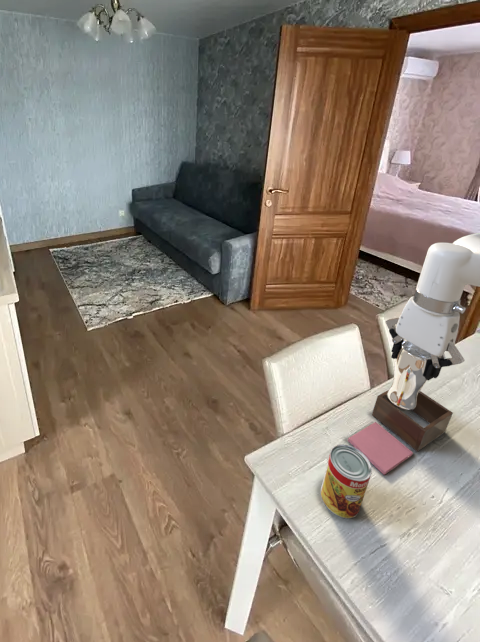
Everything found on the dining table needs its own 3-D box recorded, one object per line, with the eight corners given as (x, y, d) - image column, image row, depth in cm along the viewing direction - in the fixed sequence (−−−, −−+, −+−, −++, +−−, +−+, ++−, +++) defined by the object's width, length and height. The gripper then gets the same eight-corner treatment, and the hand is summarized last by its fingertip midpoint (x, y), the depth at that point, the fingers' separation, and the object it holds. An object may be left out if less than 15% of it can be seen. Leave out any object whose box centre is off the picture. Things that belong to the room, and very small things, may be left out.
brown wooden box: (398, 399, 102) (405, 380, 99) (444, 432, 91) (453, 412, 89) (371, 414, 96) (377, 395, 94) (417, 451, 86) (425, 431, 84)
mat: (374, 424, 93) (375, 421, 93) (412, 455, 85) (413, 452, 85) (347, 440, 89) (348, 438, 88) (384, 475, 81) (385, 472, 80)
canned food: (352, 527, 71) (365, 489, 66) (314, 499, 75) (324, 462, 71) (364, 497, 76) (376, 460, 71) (328, 473, 81) (337, 437, 76)
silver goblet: (386, 384, 88) (401, 336, 82) (419, 397, 84) (437, 347, 78) (383, 402, 83) (399, 351, 77) (417, 416, 79) (437, 364, 73)
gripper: (493, 316, 67) (464, 386, 74) (404, 279, 82) (386, 340, 88) (473, 327, 64) (444, 399, 71) (384, 286, 78) (367, 349, 85)
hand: (412, 366), depth 79 cm, fingers closed on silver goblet, 7 cm apart
